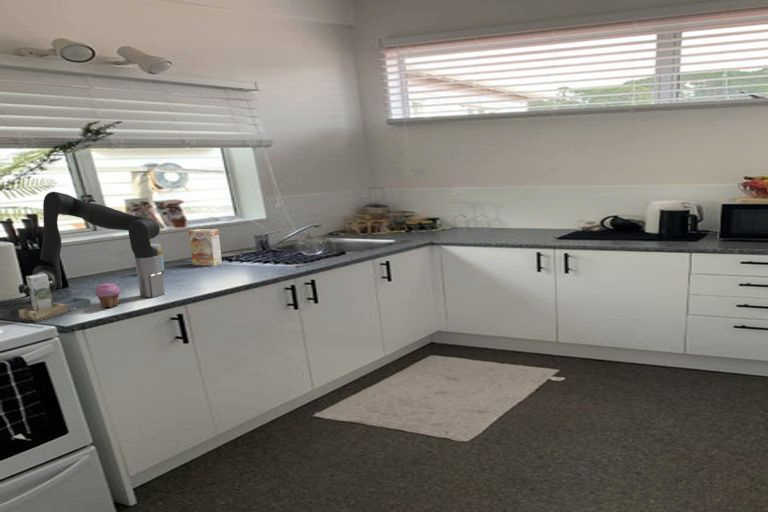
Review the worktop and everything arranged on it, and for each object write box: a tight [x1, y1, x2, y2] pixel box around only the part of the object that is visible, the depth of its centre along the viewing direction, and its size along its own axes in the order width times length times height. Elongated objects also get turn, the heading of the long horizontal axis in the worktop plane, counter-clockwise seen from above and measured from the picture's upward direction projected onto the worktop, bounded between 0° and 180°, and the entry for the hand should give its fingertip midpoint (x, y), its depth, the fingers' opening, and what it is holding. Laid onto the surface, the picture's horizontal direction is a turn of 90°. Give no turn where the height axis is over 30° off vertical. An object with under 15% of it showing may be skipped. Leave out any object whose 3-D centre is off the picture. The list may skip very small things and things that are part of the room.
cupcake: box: [95, 282, 121, 308], centre depth 210 cm, size 9×9×10 cm
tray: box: [17, 302, 69, 322], centre depth 201 cm, size 12×12×4 cm
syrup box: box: [25, 273, 54, 312], centre depth 200 cm, size 6×6×14 cm
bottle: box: [150, 243, 166, 274], centre depth 274 cm, size 7×7×15 cm
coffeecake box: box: [188, 228, 223, 267], centre depth 291 cm, size 15×7×20 cm, turn 68°
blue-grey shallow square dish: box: [53, 296, 91, 311], centre depth 213 cm, size 10×10×2 cm
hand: (38, 290), depth 198 cm, fingers open, 7 cm apart
